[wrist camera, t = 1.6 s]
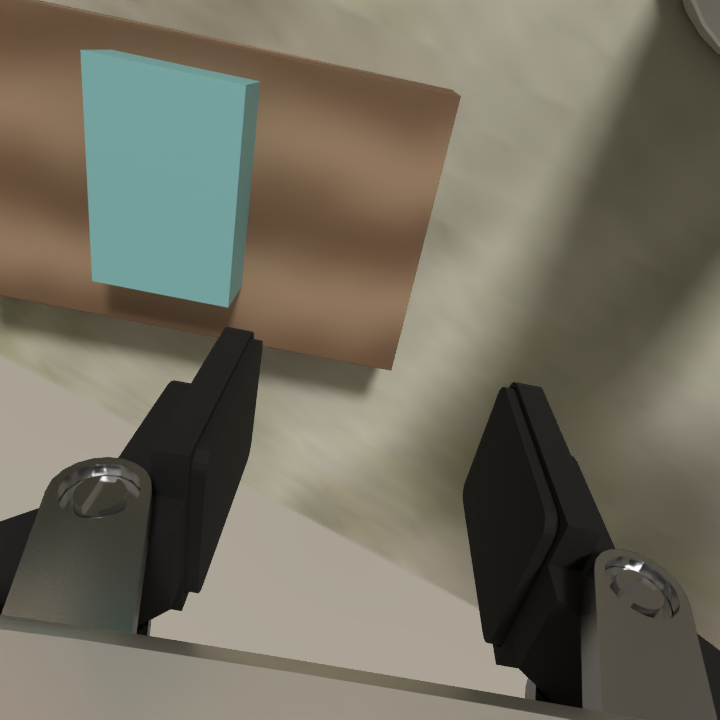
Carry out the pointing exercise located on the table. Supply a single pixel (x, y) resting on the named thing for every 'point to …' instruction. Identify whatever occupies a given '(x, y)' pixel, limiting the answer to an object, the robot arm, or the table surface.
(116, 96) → the teal rectangular block
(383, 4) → the table surface
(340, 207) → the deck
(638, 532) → the table surface
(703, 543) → the table surface
